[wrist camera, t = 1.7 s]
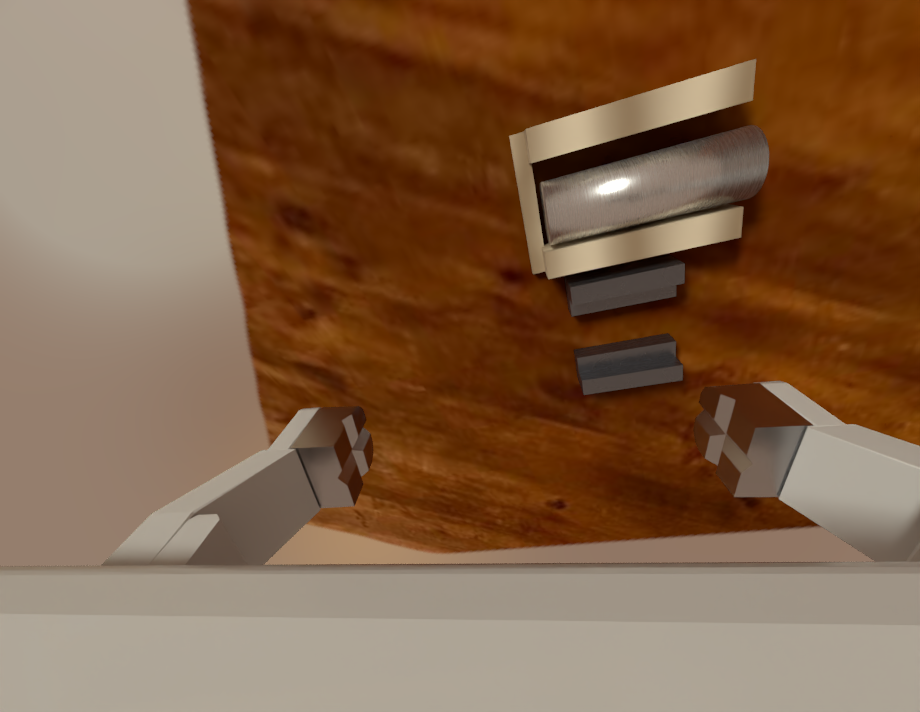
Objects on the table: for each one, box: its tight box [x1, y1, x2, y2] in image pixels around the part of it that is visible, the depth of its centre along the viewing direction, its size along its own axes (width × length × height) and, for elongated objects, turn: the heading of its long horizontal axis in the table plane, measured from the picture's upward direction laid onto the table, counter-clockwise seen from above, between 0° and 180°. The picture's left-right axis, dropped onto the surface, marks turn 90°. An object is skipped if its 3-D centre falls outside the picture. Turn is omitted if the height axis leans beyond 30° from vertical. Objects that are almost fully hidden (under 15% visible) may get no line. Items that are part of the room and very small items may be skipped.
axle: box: [540, 125, 769, 245], centre depth 25 cm, size 13×4×4 cm, turn 104°
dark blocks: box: [564, 254, 685, 395], centre depth 30 cm, size 8×10×3 cm
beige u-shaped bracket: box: [509, 59, 756, 279], centre depth 25 cm, size 14×10×3 cm
